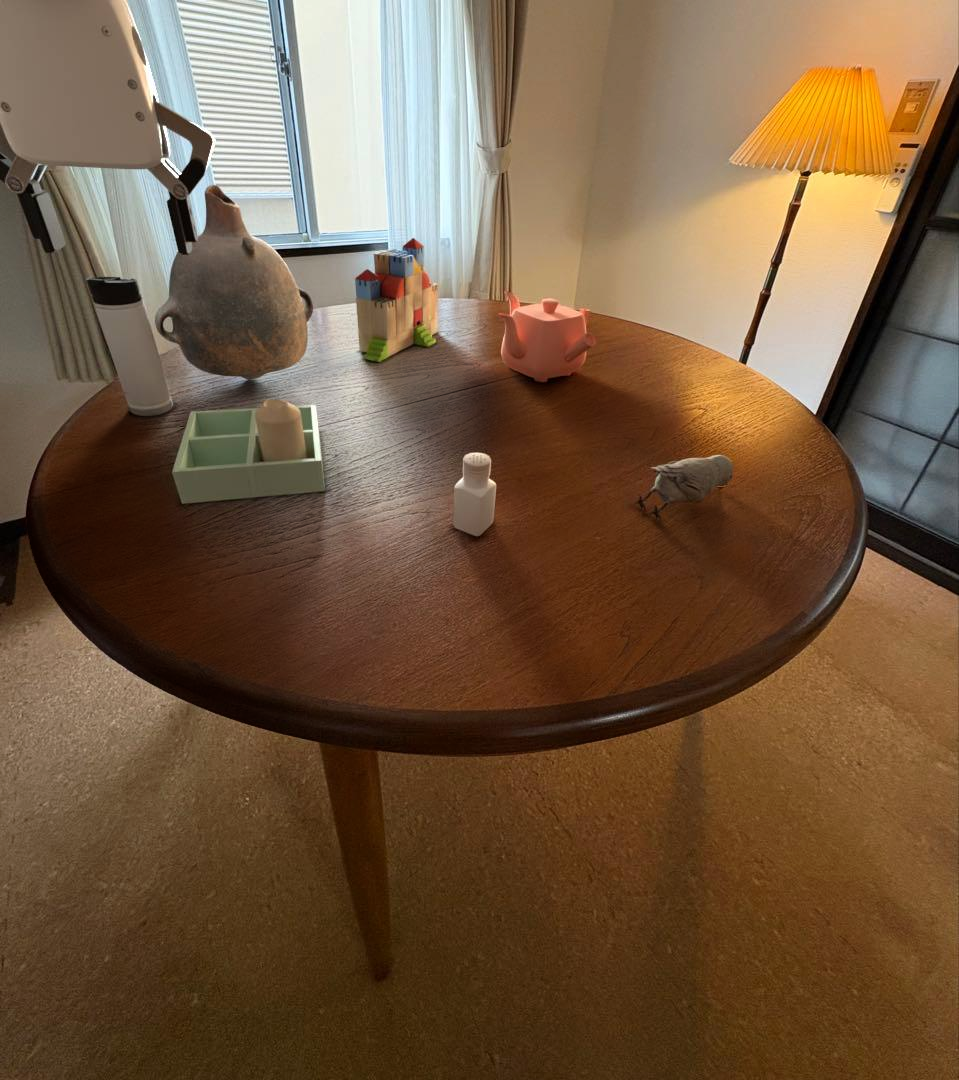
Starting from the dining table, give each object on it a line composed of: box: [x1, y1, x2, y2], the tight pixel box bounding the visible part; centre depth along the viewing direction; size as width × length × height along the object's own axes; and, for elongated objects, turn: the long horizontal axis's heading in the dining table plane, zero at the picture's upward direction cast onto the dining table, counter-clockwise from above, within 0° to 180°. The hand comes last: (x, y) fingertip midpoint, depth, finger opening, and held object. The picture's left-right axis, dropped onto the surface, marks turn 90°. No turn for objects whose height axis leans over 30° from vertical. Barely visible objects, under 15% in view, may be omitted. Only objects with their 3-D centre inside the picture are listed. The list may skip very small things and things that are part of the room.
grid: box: [171, 404, 326, 505], centre depth 77 cm, size 17×17×5 cm
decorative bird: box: [633, 454, 735, 522], centre depth 75 cm, size 5×16×7 cm, turn 122°
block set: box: [354, 237, 439, 363], centre depth 118 cm, size 28×14×19 cm, turn 155°
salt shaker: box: [452, 452, 497, 537], centre depth 67 cm, size 4×4×10 cm
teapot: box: [498, 290, 597, 383], centre depth 110 cm, size 18×18×14 cm
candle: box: [255, 398, 307, 462], centre depth 73 cm, size 6×6×10 cm
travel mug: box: [85, 276, 174, 417], centre depth 84 cm, size 6×7×20 cm
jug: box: [154, 184, 314, 381], centre depth 93 cm, size 24×21×30 cm
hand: (122, 250), depth 47 cm, fingers open, 9 cm apart
